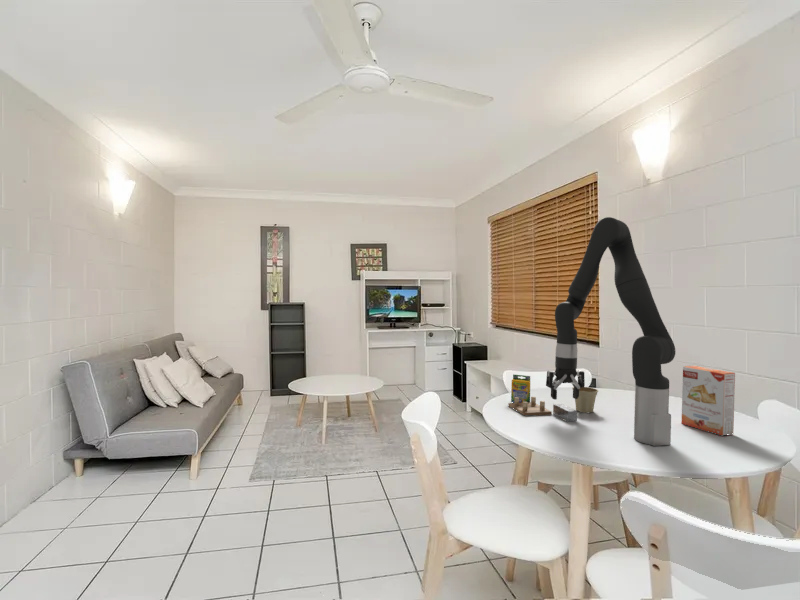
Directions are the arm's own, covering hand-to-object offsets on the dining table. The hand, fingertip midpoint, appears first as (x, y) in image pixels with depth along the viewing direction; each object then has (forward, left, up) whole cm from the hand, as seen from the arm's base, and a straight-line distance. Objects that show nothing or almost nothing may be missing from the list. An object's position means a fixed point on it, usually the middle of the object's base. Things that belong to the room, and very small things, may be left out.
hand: (564, 398), depth 159 cm
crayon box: (+21, +7, -7) cm, 23 cm away
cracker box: (-21, -41, -7) cm, 46 cm away
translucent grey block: (-1, 0, -7) cm, 7 cm away
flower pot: (+6, -13, -7) cm, 16 cm away
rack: (+10, +9, -7) cm, 15 cm away
